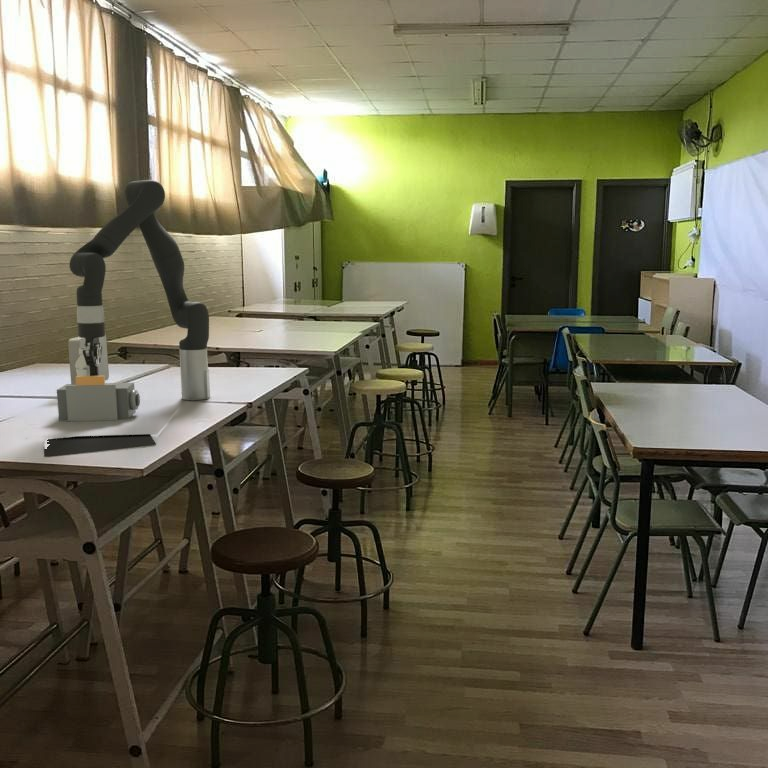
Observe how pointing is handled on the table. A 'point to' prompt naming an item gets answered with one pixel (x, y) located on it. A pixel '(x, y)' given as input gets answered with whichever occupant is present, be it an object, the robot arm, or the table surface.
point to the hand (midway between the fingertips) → (94, 378)
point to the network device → (74, 355)
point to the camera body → (125, 400)
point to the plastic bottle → (82, 365)
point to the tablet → (96, 444)
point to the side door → (91, 399)
